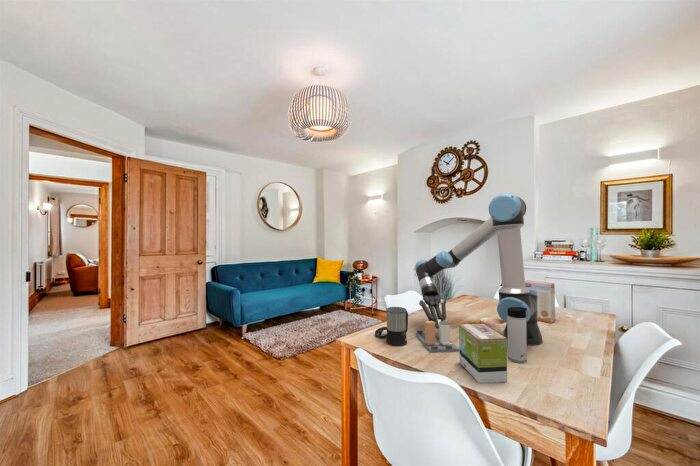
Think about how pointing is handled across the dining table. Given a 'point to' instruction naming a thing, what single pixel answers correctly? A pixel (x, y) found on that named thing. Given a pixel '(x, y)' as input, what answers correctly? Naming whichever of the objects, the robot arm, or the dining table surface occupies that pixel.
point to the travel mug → (517, 334)
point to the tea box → (483, 353)
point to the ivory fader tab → (444, 332)
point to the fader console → (433, 339)
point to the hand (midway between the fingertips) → (442, 334)
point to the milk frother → (395, 326)
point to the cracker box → (544, 300)
